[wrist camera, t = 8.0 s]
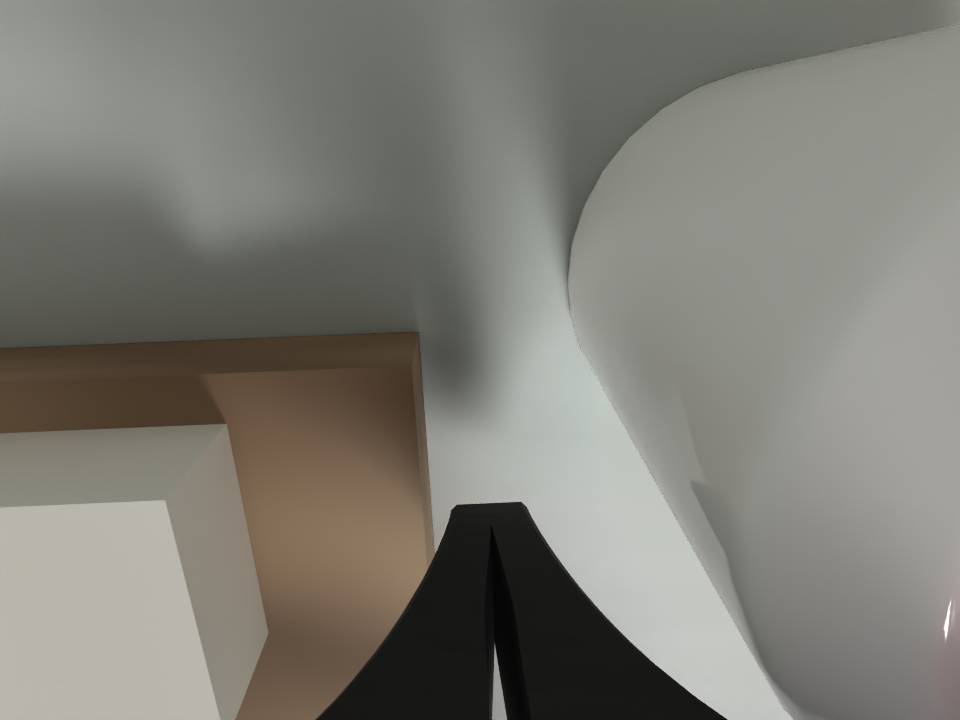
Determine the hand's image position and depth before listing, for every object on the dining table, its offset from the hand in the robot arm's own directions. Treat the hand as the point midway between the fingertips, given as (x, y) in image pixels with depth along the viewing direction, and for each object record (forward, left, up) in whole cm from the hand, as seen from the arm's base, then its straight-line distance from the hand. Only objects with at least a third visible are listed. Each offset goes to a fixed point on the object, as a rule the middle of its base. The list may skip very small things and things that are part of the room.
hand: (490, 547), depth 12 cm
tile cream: (0, +7, -1) cm, 7 cm away
